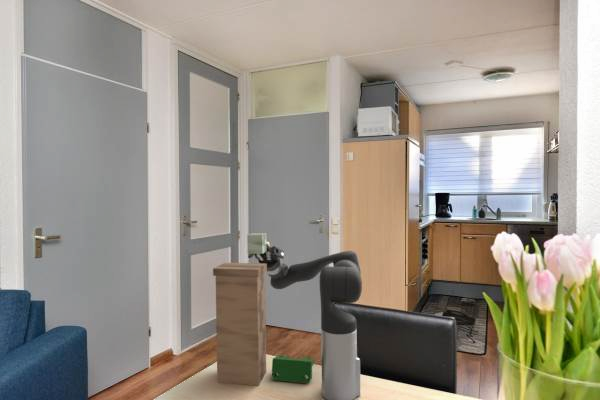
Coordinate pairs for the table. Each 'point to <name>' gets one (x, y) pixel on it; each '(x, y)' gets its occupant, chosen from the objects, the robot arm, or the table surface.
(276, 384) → the table surface
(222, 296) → the tool tower
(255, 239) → the mint and tan block
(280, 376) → the green box
